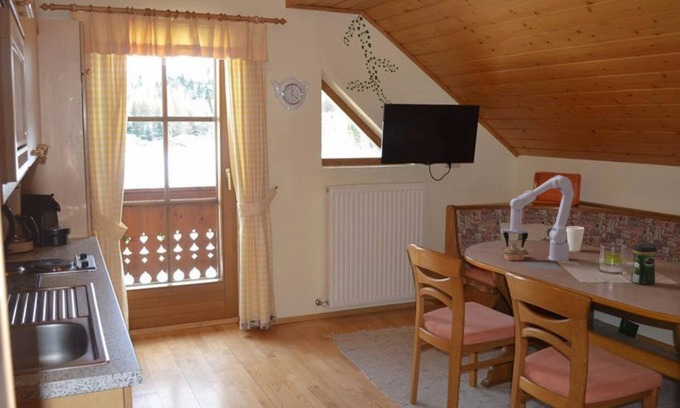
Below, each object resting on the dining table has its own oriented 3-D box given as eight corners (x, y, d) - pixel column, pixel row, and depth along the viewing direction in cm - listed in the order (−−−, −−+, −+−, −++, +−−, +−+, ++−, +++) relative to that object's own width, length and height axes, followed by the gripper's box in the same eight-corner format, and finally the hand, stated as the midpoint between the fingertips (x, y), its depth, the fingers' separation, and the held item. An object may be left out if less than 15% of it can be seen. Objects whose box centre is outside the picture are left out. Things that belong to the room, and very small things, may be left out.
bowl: (522, 257, 336) (522, 250, 336) (525, 261, 327) (525, 253, 326) (503, 256, 338) (503, 249, 337) (506, 260, 328) (506, 253, 328)
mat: (554, 263, 323) (554, 262, 323) (561, 271, 308) (561, 270, 307) (522, 262, 325) (522, 261, 325) (527, 269, 309) (527, 268, 309)
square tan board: (524, 249, 337) (524, 241, 336) (528, 254, 325) (528, 246, 324) (501, 249, 338) (501, 240, 337) (504, 253, 326) (504, 245, 326)
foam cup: (580, 248, 359) (581, 226, 357) (585, 252, 350) (586, 229, 348) (563, 248, 360) (564, 225, 358) (567, 251, 351) (568, 228, 349)
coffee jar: (645, 280, 292) (649, 240, 289) (657, 284, 284) (661, 244, 281) (627, 281, 290) (630, 241, 287) (638, 285, 282) (641, 245, 280)
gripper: (502, 222, 326) (501, 248, 328) (531, 223, 325) (530, 249, 327) (501, 220, 333) (499, 245, 335) (529, 220, 332) (527, 246, 334)
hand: (514, 247), depth 331 cm, fingers open, 7 cm apart
